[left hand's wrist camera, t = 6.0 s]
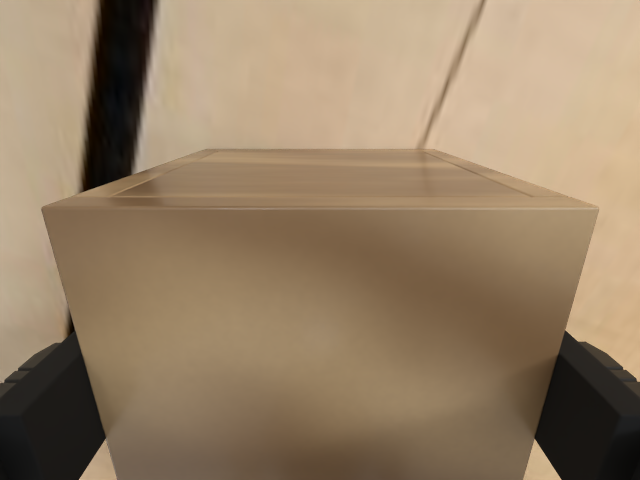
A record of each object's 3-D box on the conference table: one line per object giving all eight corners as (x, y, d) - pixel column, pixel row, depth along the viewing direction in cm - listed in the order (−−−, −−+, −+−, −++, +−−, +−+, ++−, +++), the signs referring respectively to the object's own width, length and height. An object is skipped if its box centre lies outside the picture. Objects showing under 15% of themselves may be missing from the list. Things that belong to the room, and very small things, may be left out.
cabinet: (407, 406, 23) (477, 644, 13) (232, 406, 23) (163, 644, 13) (435, 149, 17) (601, 207, 7) (204, 149, 17) (39, 207, 7)
